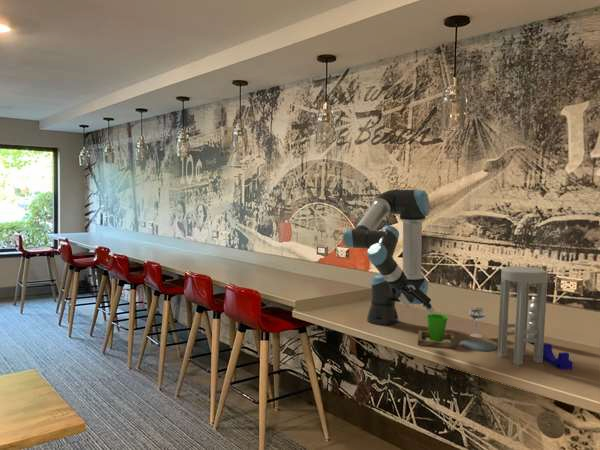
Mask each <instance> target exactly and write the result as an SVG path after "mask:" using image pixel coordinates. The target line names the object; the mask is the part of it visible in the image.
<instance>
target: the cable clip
mask: <svg viewBox="0 0 600 450" xmlns="http://www.w3.org/2000/svg"><path fill="white" fill-rule="evenodd" d="M552 347H553V346H552V344H551V343H549V342H548V343H545V342H544V347H543V360H544V361H546V362H547V363H549V364H550V365H551V366H554V367H555V368H557V369H559V370H563V371H565V370H573V361H572V360H571V359H570V353H568V352H567V351H566V352H558V356H557V358H556V356H555V355H554V351H553V348H552Z"/></svg>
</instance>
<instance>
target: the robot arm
mask: <svg viewBox="0 0 600 450" xmlns="http://www.w3.org/2000/svg"><path fill="white" fill-rule="evenodd" d="M430 208H431V207H430V199H429V196H428V193H427V192H426V191H425V190H422V189H395V188H394V189H389V190H386V191H384V192H382V193H380V194H378V195H377V196H376V197H375V198H373V200H372V201H371V203H370V208H369V209H368V210H367V211H366V213H365V214H364V215H363V216H362V218H361V220H360V221H359V222H358V223H357V224H356V226H355V227H354V228H348V229H345V230H344V232H343V234H342V242H343V245H344V246H345V247H346V248H352V249H367V251H366V256H367V259H369V261H370V263H371V265H373V266H374V268H376V270H377V271H378V272H379V274H375V275H373V276H372V278H371V284H370V285H371V289H370V291H371V292H370V293H371V296H370V297H371V299H370V301H371V302H370V306H369V309H368V313H367V315H366V321H367V322H368V323H371V324H374V325H378V326H379V325H381V326H391V325H392V326H393V325H396V324H398V323H399V314H398V311H397V308H396V303H401V304H402V305H403V307H404V308H406V309H407V308H409V306H410V304H411V305H422V307H423V308H424V309H425V310H426V312H427V313H428V314H430V315H432V314H434V311H435V309H434V307H433V306H432V304H431V302H432V299H431V298H430V297H429V296H428V295H427V294H428V290H429V281H428V280H427V279H425V275H424V274H423V273H422V245H423V244H422V243H423V242H422V241H423V240H422V239H423V238H422V237H423V232H422V231H423V222H424V221H425V220H426V216H429V215H430ZM390 215H399V220H401V222H402V268H401V267H400V265H399V264H398V263H397V261H396V260H395V259H394V257H393V256H394V253H395V251H396V247H397V245H398V243H399V237H400V232H399V230H398V229H397V228H396V227H394V226H392V225H385V226H383V227H381V230H376V229H377V228H378V226H379V225H380V223H382V221H383V219H384V218H385V217H388V216H390Z"/></svg>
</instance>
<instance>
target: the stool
mask: <svg viewBox="0 0 600 450" xmlns="http://www.w3.org/2000/svg"><path fill="white" fill-rule="evenodd" d="M500 274H501V277H500V278H501V280H500V294H499V295H500V298H499V314H498V315H499V317H498V335H497V336H498V337H497V356H498V357H500V358H501V357H502V358H503V357H504V358H505V357H507V345H508V341H507V340H508V336H514V342H513V343H514V345H513V360H512V363H513V364H515V365H516V366H520V365H523V363H524V361H523V360H524V359H523V358H524V356H525V355H527V354H526V351H527V343H531V342H534V343H533V344H534V345H533V360H532V361H533V362H535V363H537V364H541V363H544V361H543V347H544V343H545V330H546V329H545V328H546V326H545V325H546V311H547V309H546V307H547V295H548V294H547V289H548V276H549V274H548V271H546V270H545V269H543V268H538V267H532V266H531V267H530V266H519V265H515V266H512V265H511V266H504V267H502V268H501V273H500ZM510 282H514V283H515V282H516V283H517V286H516V302H515V303H516V304H515V305H516V306H515V323H509V308H510V307H509V305H510V290H511V289H510V287H511V283H510ZM530 284H537V290H536V296H537V305H536V323H535V330H528V306H529V297H530ZM511 328H513V329H514V331H508V329H511ZM527 334H535V338H526V336H527Z"/></svg>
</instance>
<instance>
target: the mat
mask: <svg viewBox="0 0 600 450" xmlns="http://www.w3.org/2000/svg"><path fill="white" fill-rule="evenodd" d="M460 346H462V347H463V348H465V349H469V350H471V351H476V352H477V351H478V352H492V351H496V350H497V345H496V344H494V343H492V342H489V341H487V340H482V339H480V340H479V339H464V340H461V341H460Z"/></svg>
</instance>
